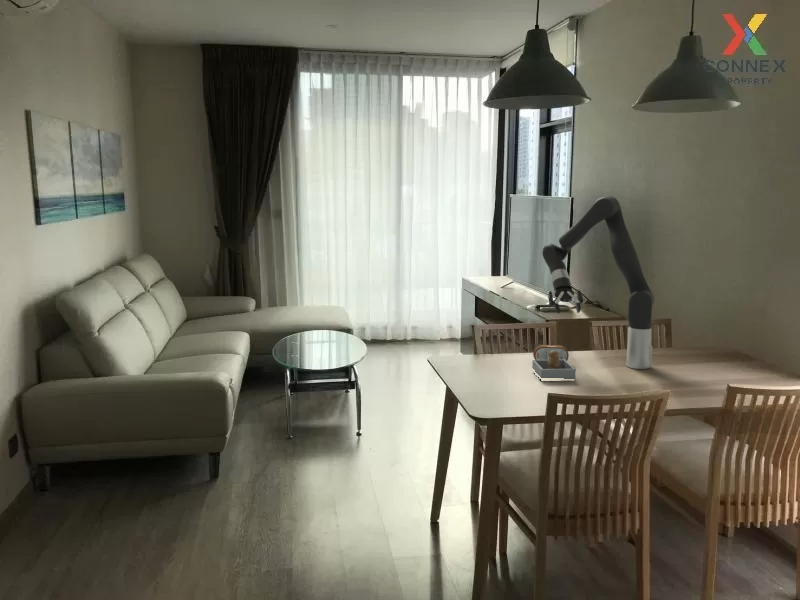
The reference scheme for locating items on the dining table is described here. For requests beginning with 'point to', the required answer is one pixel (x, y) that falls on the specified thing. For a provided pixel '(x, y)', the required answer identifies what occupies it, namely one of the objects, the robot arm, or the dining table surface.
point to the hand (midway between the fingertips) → (568, 312)
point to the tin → (543, 351)
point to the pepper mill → (553, 360)
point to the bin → (563, 371)
